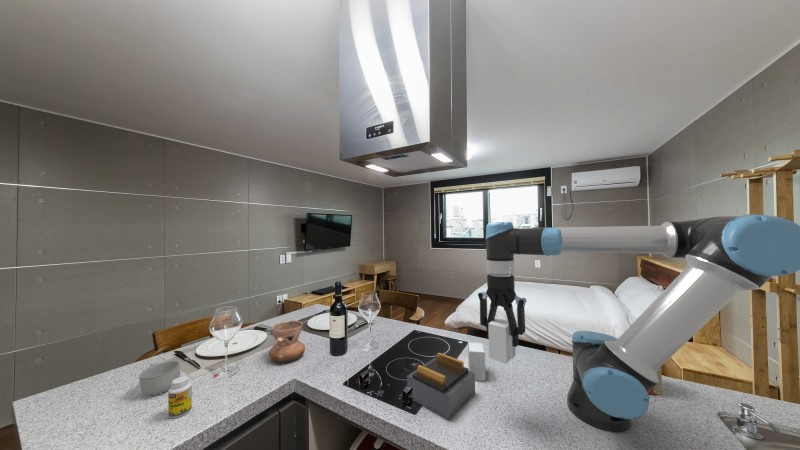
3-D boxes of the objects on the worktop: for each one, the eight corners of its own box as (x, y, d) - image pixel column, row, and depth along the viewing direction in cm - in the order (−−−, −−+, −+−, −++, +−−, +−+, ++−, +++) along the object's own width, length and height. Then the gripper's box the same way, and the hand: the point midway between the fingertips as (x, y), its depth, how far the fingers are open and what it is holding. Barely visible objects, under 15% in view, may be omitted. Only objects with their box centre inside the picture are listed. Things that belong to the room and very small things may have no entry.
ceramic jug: (295, 367, 106) (295, 332, 107) (260, 367, 106) (260, 332, 107) (311, 348, 124) (311, 317, 125) (281, 348, 124) (281, 317, 125)
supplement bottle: (163, 420, 77) (163, 386, 78) (175, 408, 83) (175, 375, 83) (185, 417, 79) (185, 383, 79) (195, 405, 84) (195, 373, 84)
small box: (485, 381, 94) (485, 352, 94) (469, 380, 95) (469, 351, 95) (483, 369, 102) (482, 342, 102) (468, 368, 103) (467, 341, 103)
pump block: (515, 354, 77) (514, 320, 78) (506, 363, 72) (505, 327, 72) (498, 349, 81) (498, 317, 81) (489, 358, 76) (488, 323, 76)
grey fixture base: (475, 394, 87) (474, 362, 87) (449, 420, 75) (448, 384, 75) (435, 376, 98) (435, 348, 98) (407, 397, 86) (406, 365, 86)
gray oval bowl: (182, 389, 93) (182, 366, 93) (139, 404, 85) (139, 380, 85) (176, 374, 102) (176, 354, 102) (137, 387, 94) (137, 365, 94)
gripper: (537, 275, 74) (539, 358, 73) (477, 269, 86) (479, 340, 86) (528, 279, 68) (531, 369, 68) (466, 272, 80) (468, 348, 80)
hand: (502, 353), depth 77 cm, fingers closed on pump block, 5 cm apart
